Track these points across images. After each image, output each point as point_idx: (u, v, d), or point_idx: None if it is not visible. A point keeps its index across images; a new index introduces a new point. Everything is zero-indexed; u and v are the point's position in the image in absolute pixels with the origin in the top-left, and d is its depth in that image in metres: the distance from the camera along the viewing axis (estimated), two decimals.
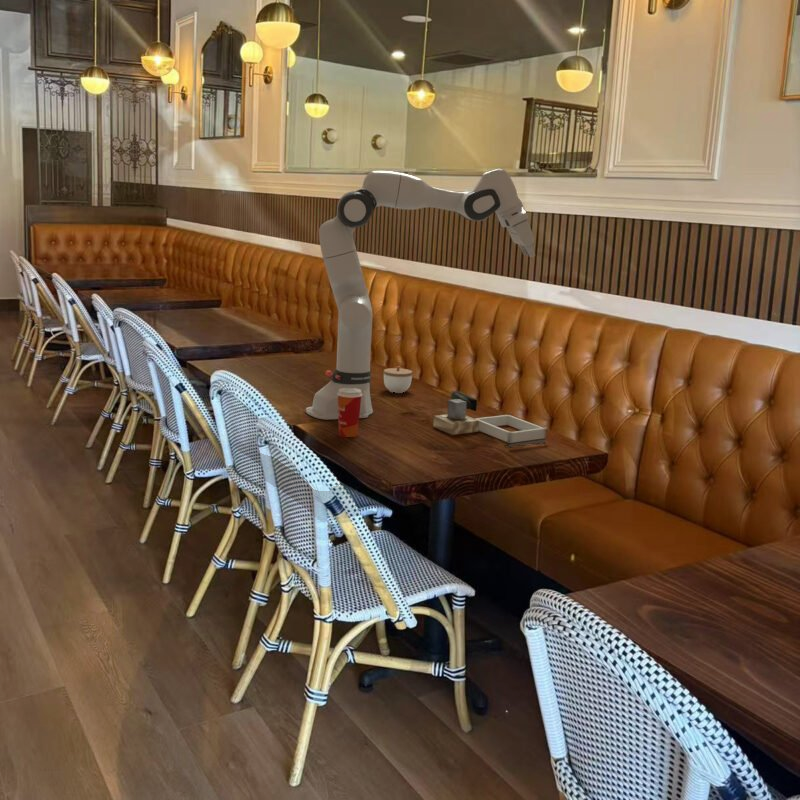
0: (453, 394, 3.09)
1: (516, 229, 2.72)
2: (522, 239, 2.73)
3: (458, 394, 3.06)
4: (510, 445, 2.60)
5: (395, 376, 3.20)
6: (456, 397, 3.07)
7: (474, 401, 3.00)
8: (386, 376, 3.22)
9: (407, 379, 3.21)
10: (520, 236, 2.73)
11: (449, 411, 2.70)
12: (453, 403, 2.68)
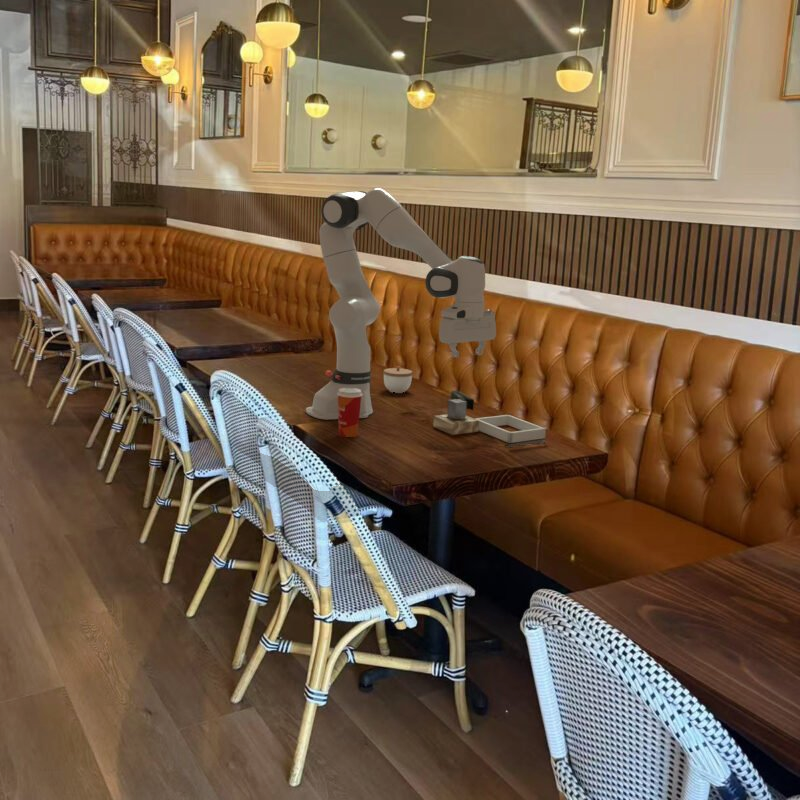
0: (452, 394, 3.09)
1: None
2: (439, 333, 2.61)
3: (456, 394, 3.07)
4: (510, 445, 2.60)
5: (395, 376, 3.20)
6: (454, 397, 3.07)
7: (471, 401, 3.00)
8: (386, 376, 3.22)
9: (407, 379, 3.21)
10: (439, 330, 2.61)
11: (449, 411, 2.70)
12: (453, 403, 2.68)
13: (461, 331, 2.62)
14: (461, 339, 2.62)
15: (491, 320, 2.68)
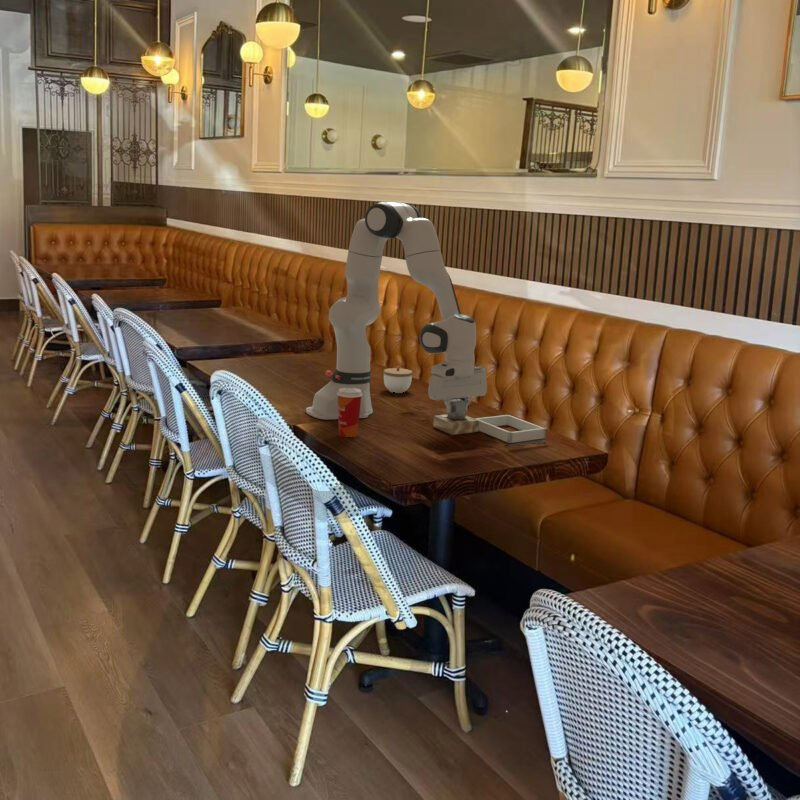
0: None
1: (430, 378, 2.65)
2: (428, 390, 2.65)
3: None
4: (510, 445, 2.60)
5: (395, 376, 3.20)
6: None
7: None
8: (386, 376, 3.22)
9: (407, 379, 3.21)
10: None
11: None
12: (453, 403, 2.68)
13: (450, 388, 2.65)
14: (450, 396, 2.66)
15: (482, 377, 2.70)
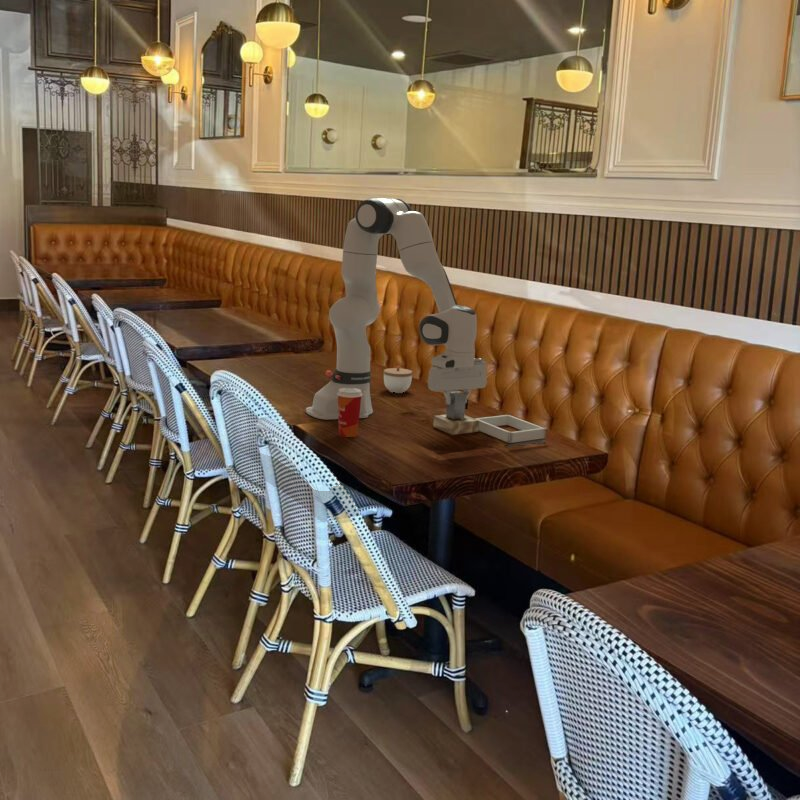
0: None
1: (430, 369, 2.64)
2: (428, 381, 2.64)
3: None
4: (510, 445, 2.60)
5: (395, 376, 3.20)
6: None
7: None
8: (386, 376, 3.22)
9: (407, 379, 3.21)
10: (428, 377, 2.64)
11: None
12: (453, 395, 2.68)
13: (450, 380, 2.64)
14: (450, 387, 2.65)
15: (482, 369, 2.70)
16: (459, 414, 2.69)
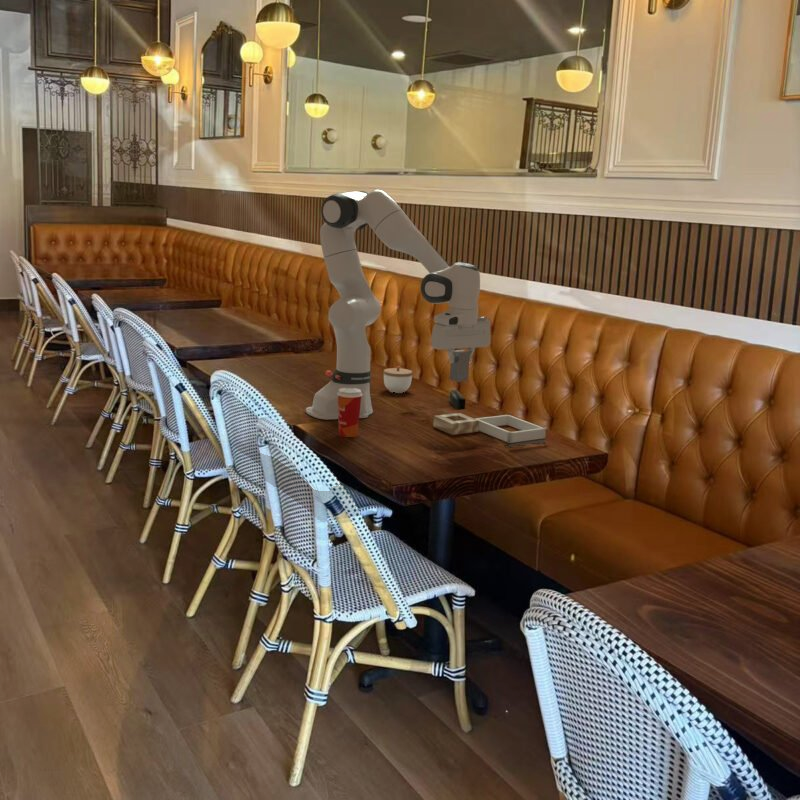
0: (450, 393, 3.11)
1: (433, 327, 2.61)
2: (431, 339, 2.61)
3: (453, 393, 3.08)
4: (510, 445, 2.60)
5: (395, 376, 3.20)
6: (451, 396, 3.08)
7: (462, 400, 3.00)
8: (386, 376, 3.22)
9: (407, 379, 3.21)
10: None
11: None
12: (456, 353, 2.65)
13: (453, 338, 2.61)
14: (453, 345, 2.62)
15: (486, 327, 2.67)
16: (463, 373, 2.66)
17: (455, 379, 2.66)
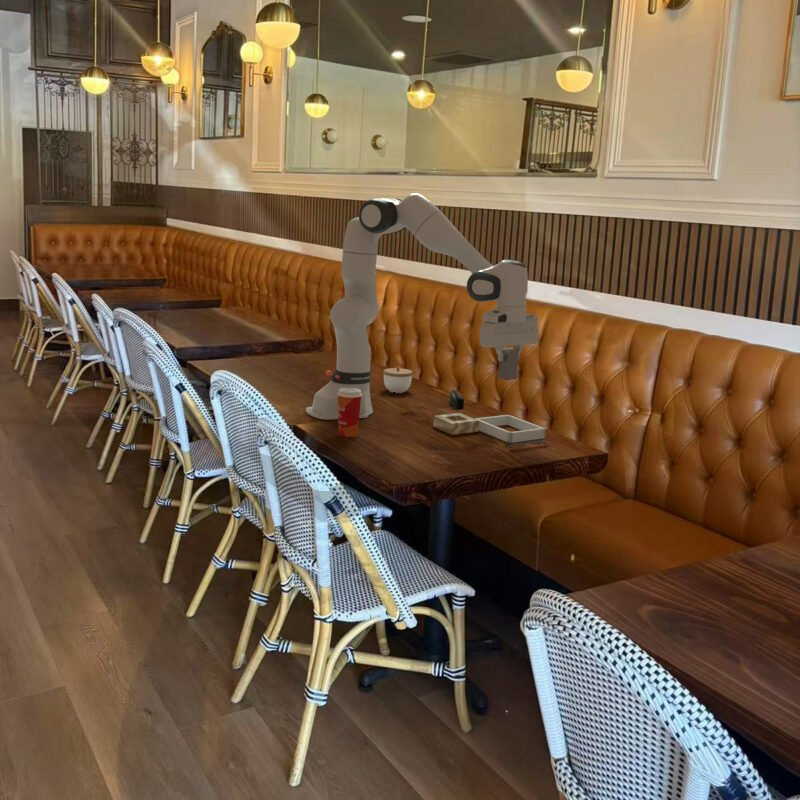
0: (450, 393, 3.11)
1: (482, 325, 2.59)
2: (480, 337, 2.60)
3: (452, 393, 3.08)
4: (510, 445, 2.60)
5: (395, 376, 3.20)
6: (450, 395, 3.08)
7: (460, 400, 3.00)
8: (386, 376, 3.22)
9: (407, 379, 3.21)
10: (480, 334, 2.60)
11: None
12: (505, 351, 2.63)
13: (502, 335, 2.60)
14: (502, 343, 2.60)
15: (533, 324, 2.65)
16: (512, 371, 2.64)
17: (504, 377, 2.64)
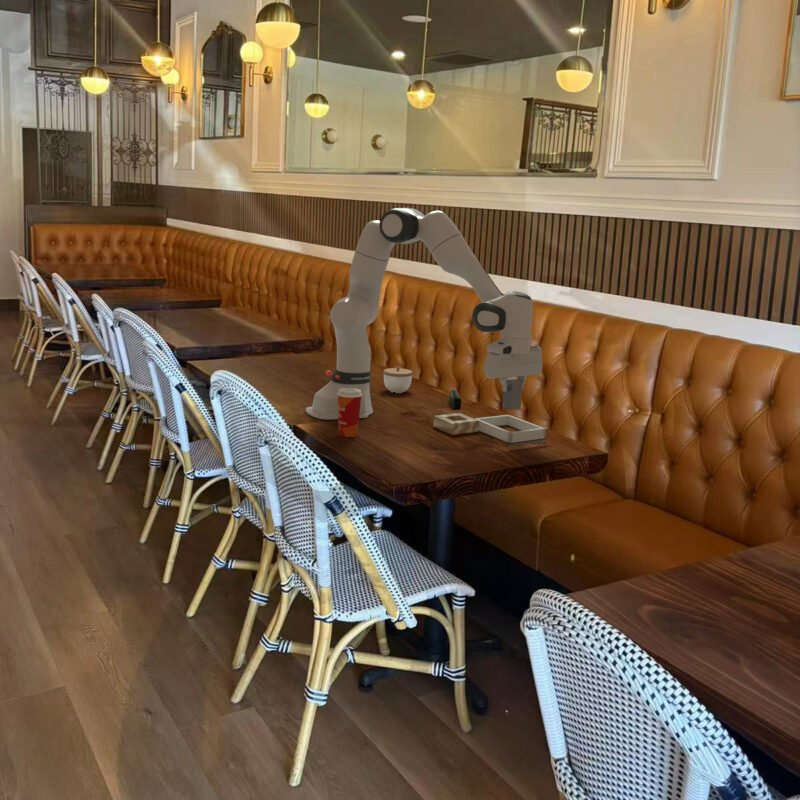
0: (450, 392, 3.11)
1: (486, 356, 2.62)
2: None
3: (451, 392, 3.08)
4: (510, 445, 2.60)
5: (395, 376, 3.20)
6: None
7: (457, 400, 3.00)
8: (386, 376, 3.22)
9: (407, 379, 3.21)
10: (485, 364, 2.62)
11: None
12: (509, 382, 2.65)
13: (507, 366, 2.62)
14: (506, 374, 2.62)
15: (538, 355, 2.67)
16: (515, 401, 2.66)
17: (508, 407, 2.66)
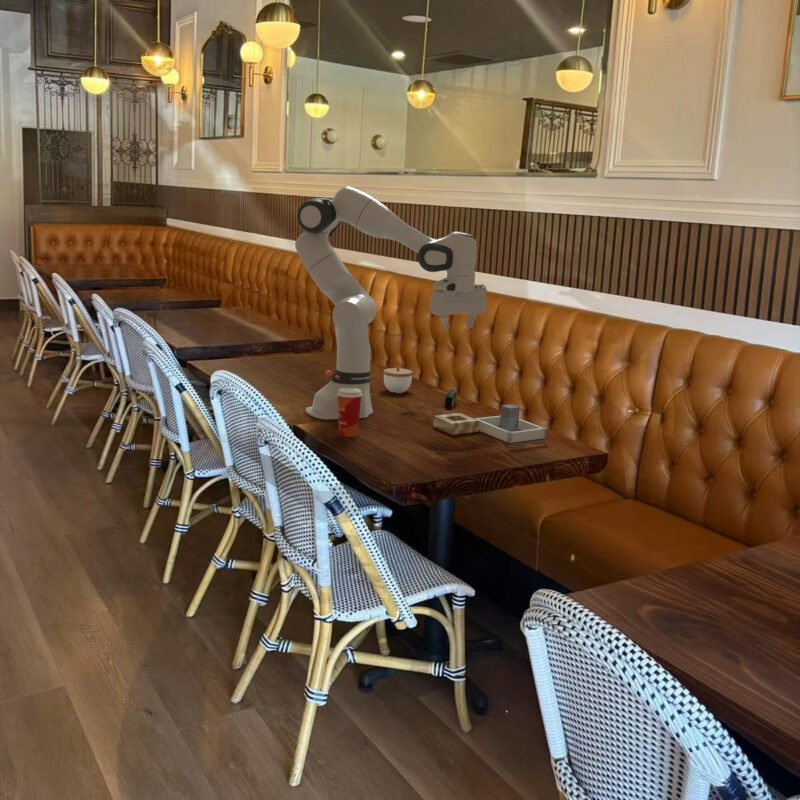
0: None
1: (432, 294, 2.73)
2: (430, 305, 2.73)
3: None
4: (510, 445, 2.60)
5: (395, 376, 3.20)
6: None
7: (448, 398, 3.02)
8: (386, 376, 3.22)
9: (407, 379, 3.21)
10: (430, 301, 2.73)
11: (502, 416, 2.69)
12: (506, 408, 2.67)
13: (451, 304, 2.73)
14: (451, 311, 2.73)
15: (482, 294, 2.78)
16: (512, 428, 2.68)
17: None
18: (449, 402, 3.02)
